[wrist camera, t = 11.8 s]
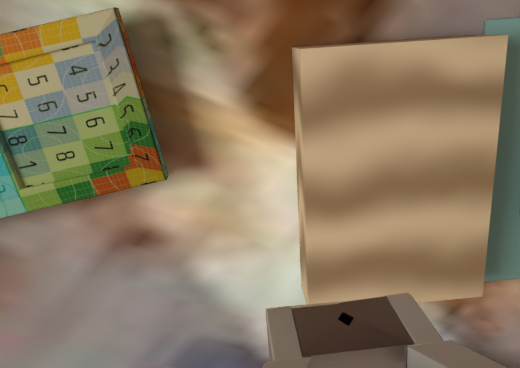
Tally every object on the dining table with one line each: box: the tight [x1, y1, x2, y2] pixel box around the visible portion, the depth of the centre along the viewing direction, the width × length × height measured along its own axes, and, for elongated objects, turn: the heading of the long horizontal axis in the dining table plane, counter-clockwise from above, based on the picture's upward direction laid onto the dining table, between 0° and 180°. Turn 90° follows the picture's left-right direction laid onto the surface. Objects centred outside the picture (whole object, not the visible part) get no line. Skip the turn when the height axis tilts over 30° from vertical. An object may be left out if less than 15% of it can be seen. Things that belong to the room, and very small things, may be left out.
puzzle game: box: [0, 8, 168, 218], centre depth 32 cm, size 12×5×20 cm
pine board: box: [292, 35, 508, 305], centre depth 36 cm, size 20×14×4 cm
